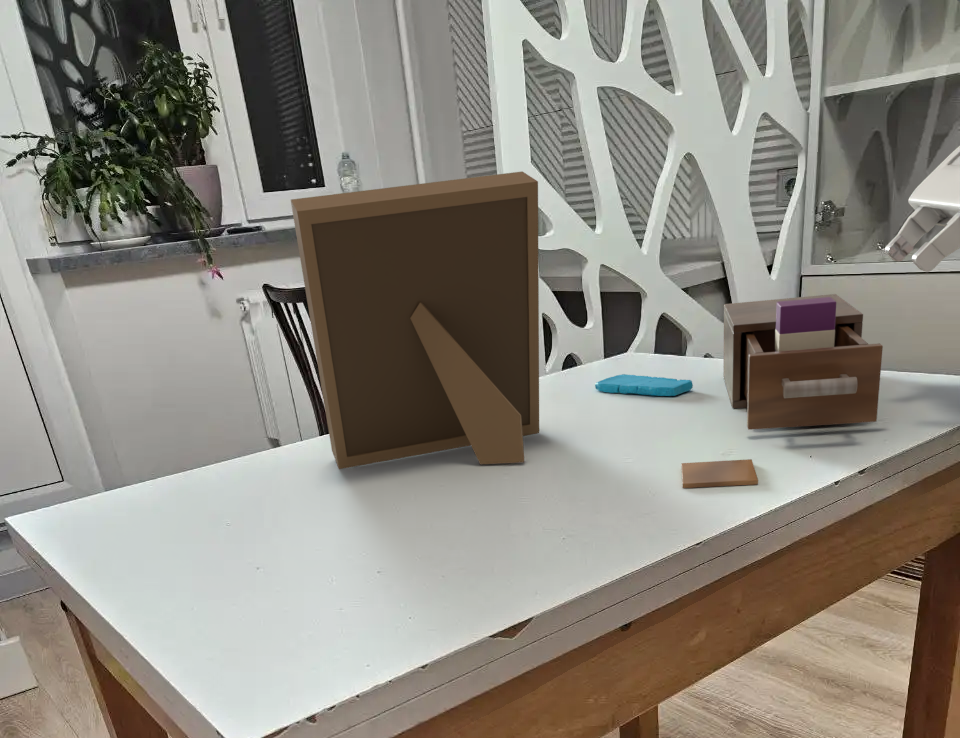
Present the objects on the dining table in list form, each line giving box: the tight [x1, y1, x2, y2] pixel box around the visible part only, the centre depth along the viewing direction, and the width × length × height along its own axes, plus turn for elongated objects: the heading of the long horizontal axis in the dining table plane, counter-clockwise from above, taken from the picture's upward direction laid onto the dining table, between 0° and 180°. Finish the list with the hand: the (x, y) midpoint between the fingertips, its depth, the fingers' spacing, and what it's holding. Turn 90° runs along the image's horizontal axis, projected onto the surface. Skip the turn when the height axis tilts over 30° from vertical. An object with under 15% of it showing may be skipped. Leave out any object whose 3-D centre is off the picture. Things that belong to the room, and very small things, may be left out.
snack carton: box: [775, 297, 836, 352], centre depth 89 cm, size 5×4×9 cm
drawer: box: [743, 324, 884, 431], centre depth 88 cm, size 20×11×7 cm, turn 170°
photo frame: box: [290, 171, 540, 470], centre depth 87 cm, size 15×22×25 cm
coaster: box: [680, 458, 759, 489], centre depth 77 cm, size 6×6×1 cm
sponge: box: [594, 373, 694, 397], centre depth 110 cm, size 2×12×6 cm
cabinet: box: [722, 293, 864, 409], centre depth 101 cm, size 17×13×9 cm
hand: (903, 261), depth 83 cm, fingers open, 8 cm apart
